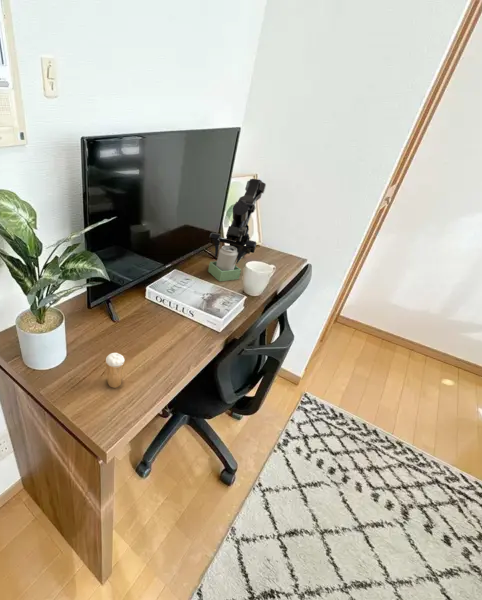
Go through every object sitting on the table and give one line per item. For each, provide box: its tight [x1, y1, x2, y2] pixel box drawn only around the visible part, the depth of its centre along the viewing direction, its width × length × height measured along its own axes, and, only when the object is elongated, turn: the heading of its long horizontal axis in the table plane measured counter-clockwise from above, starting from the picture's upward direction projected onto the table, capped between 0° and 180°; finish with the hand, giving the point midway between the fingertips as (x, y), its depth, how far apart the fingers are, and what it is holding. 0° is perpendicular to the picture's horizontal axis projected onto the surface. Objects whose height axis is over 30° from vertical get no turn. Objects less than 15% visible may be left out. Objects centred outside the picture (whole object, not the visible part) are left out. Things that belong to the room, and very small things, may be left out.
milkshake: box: [105, 352, 126, 389], centre depth 79 cm, size 4×5×10 cm
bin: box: [207, 260, 242, 282], centre depth 135 cm, size 9×9×4 cm
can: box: [216, 244, 238, 271], centre depth 133 cm, size 8×8×12 cm
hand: (225, 260), depth 131 cm, fingers open, 8 cm apart
